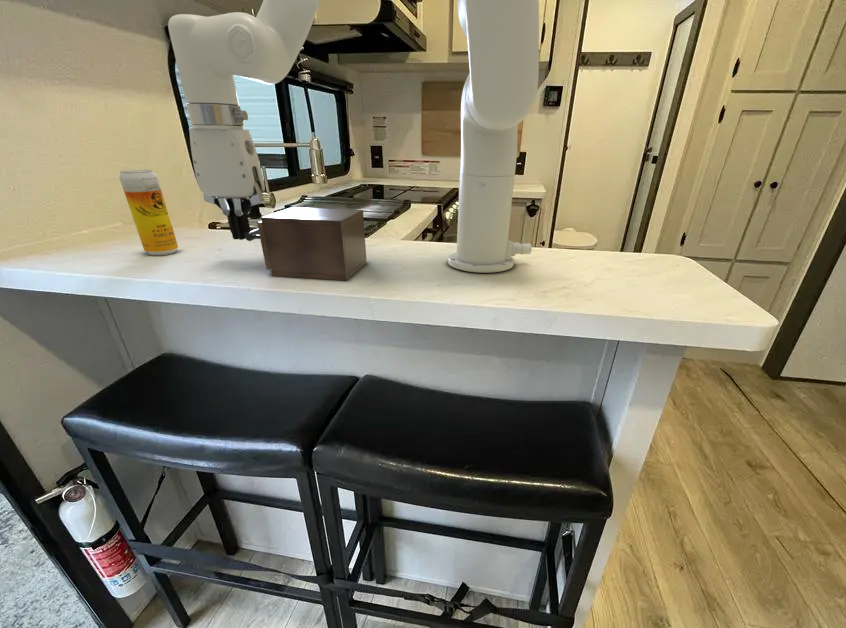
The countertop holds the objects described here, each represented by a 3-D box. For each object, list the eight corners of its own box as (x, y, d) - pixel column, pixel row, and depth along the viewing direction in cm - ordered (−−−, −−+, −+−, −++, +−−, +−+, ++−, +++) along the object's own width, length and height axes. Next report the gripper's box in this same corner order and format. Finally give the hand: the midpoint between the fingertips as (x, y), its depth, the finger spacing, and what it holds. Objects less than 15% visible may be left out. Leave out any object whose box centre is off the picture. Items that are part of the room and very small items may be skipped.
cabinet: (271, 275, 72) (260, 217, 67) (300, 259, 82) (292, 206, 77) (346, 280, 70) (340, 220, 65) (366, 263, 80) (363, 209, 75)
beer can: (164, 257, 82) (137, 172, 74) (138, 255, 83) (108, 171, 75) (186, 249, 87) (162, 169, 79) (161, 248, 88) (135, 169, 80)
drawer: (243, 268, 73) (233, 221, 69) (272, 253, 82) (265, 211, 77) (334, 273, 70) (328, 225, 66) (354, 258, 79) (350, 215, 75)
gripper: (271, 120, 68) (289, 235, 78) (189, 119, 70) (217, 232, 80) (246, 118, 62) (270, 244, 71) (157, 117, 64) (191, 240, 73)
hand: (242, 237), depth 75 cm, fingers closed
